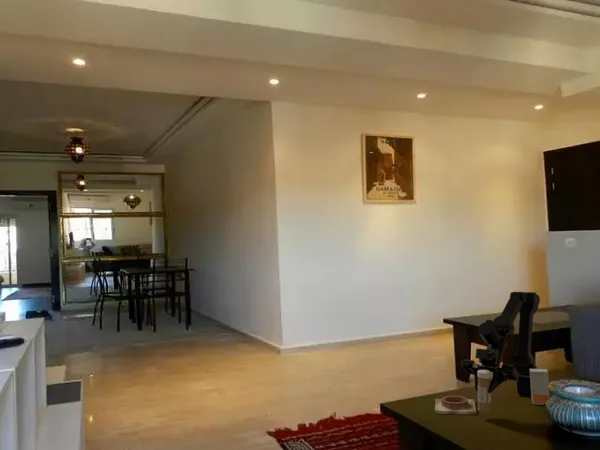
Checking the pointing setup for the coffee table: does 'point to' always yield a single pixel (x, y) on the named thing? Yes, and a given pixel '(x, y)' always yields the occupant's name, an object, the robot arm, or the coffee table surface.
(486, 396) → the sprinkles bottle
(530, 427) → the coffee table surface
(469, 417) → the coffee table surface
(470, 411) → the collar base
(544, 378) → the skincare box
